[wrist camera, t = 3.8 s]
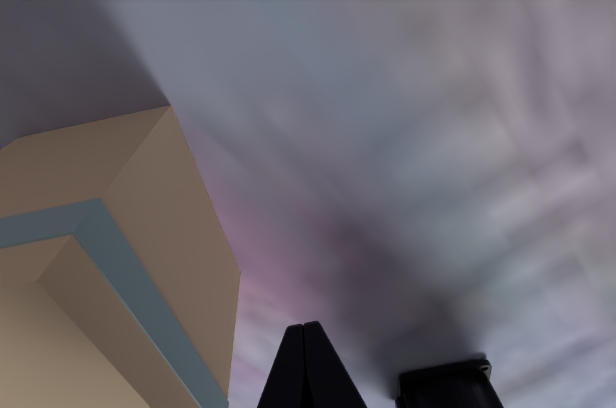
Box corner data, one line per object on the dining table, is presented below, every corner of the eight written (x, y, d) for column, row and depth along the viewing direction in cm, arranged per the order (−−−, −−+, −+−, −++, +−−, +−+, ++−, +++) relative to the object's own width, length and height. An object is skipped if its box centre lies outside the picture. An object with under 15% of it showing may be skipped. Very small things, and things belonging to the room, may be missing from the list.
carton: (172, 102, 13) (37, 278, 6) (241, 272, 18) (220, 482, 11) (16, 136, 13) (-316, 348, 6) (129, 294, 18) (30, 516, 11)
